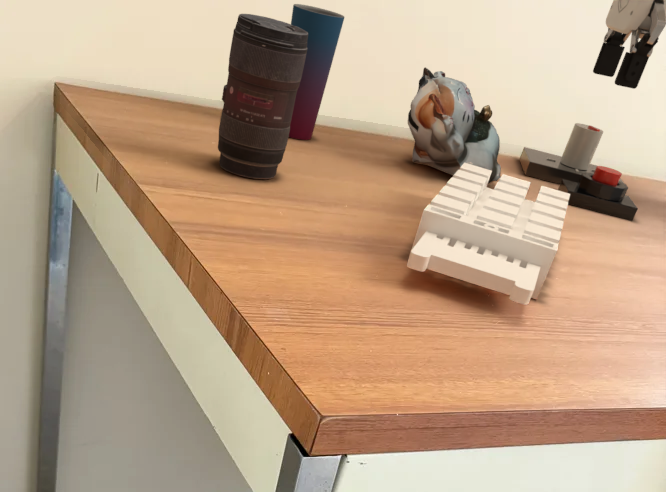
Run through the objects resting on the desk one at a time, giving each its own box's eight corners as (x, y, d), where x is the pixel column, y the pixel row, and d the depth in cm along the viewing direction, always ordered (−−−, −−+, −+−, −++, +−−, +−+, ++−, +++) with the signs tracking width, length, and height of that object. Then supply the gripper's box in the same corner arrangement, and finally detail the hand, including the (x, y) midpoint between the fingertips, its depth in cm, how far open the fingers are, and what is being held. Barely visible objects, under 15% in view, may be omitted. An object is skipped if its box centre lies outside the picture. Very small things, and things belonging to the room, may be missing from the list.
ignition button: (614, 183, 118) (619, 170, 117) (618, 189, 115) (624, 176, 114) (589, 176, 118) (594, 163, 117) (593, 182, 115) (598, 169, 114)
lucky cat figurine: (504, 194, 112) (502, 90, 101) (414, 209, 115) (403, 110, 104) (496, 136, 121) (494, 36, 110) (413, 152, 124) (403, 55, 113)
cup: (325, 139, 117) (353, 17, 108) (302, 143, 112) (329, 16, 103) (286, 125, 119) (309, 4, 110) (261, 128, 115) (283, 2, 105)
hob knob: (554, 159, 129) (570, 119, 125) (576, 162, 131) (592, 123, 127) (570, 168, 126) (587, 127, 122) (593, 171, 127) (610, 131, 124)
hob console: (608, 182, 134) (615, 168, 132) (620, 200, 125) (627, 185, 124) (519, 159, 134) (524, 145, 133) (524, 175, 125) (530, 160, 124)
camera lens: (234, 181, 92) (260, 26, 82) (201, 157, 97) (222, 9, 87) (294, 183, 96) (325, 36, 86) (259, 161, 101) (285, 19, 91)
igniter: (623, 207, 121) (634, 183, 119) (632, 220, 115) (644, 195, 113) (557, 190, 121) (567, 165, 119) (563, 202, 116) (573, 177, 113)
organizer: (570, 193, 98) (551, 275, 71) (553, 234, 101) (529, 327, 74) (464, 162, 100) (406, 229, 73) (451, 202, 103) (390, 282, 76)
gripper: (620, -71, 116) (571, 66, 127) (667, -67, 103) (608, 86, 113) (670, -59, 117) (617, 75, 127) (723, -54, 103) (659, 96, 114)
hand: (613, 80), depth 120 cm, fingers open, 9 cm apart
